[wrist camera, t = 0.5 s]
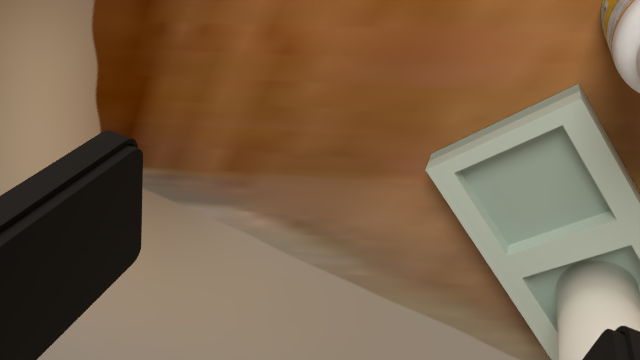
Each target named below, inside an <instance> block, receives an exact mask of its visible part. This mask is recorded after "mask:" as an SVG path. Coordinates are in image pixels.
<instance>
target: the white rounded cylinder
mask: <svg viewBox="0 0 640 360" xmlns="http://www.w3.org/2000/svg"><path fill="white" fill-rule="evenodd" d="M556 294H557V323H558V352H559V360H582V359H583V358H584V357H585V355H586V354H587V353H588V351H589V350H590V349H591V347H592V346H593V345H594V343H595V342H596V341H597V339H598V338H599V337H600V335H601V334H602V333H603V332H604V331H605V330H606V329H612V330H614V331H615V330H616V329H617V328H618V327H620V326H627V327H629V328H632V329H635V330H637V331H640V290H639V286H638V283H637V281H636V279H635V278H634V276H633V275H632V274H631V273H630V272H629V271H627V270H626V269H624V268H623V267H621V266H619V265H617V264H614V263H611V262H606V261H597V260H595V261H585V262H580V263H577V264H575V265H573V266H571V267H569V268H568V269H566V270H565V271H564V272H563V273H562V274H561V275H560V277H559V279H558V281H557V285H556Z"/></svg>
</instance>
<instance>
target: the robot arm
mask: <svg viewBox="0 0 640 360" xmlns="http://www.w3.org/2000/svg"><path fill="white" fill-rule="evenodd" d="M142 175H143V153H142V151H141V150H140V149H138V146H137V143H136V141H135V140H134V139H132V138H129V137H126V136H124V135H121V134H118V133H116V132H113V131H110V130H106V131H104V132H102V133H100V134H99V135H97V136H95V137H94V138H92V139H91V140H89V141H87V142H86V143H84V144H83V145H81V146H79V147H78V148H76V149H75V150H73V151H72V152H70V153H68V154H67V155H65V156H64V157H62V158H60V159H59V160H57V161H56V162H54V163H52V164H51V165H49V166H48V167H46V168H44V169H43V170H41V171H40V172H38V173H37V174H35V175H33V176H32V177H30V178H28V179H27V180H25V181H24V182H22V183H20V184H19V185H17V186H16V187H14V188H12V189H11V190H9V191H8V192H6V193H4V194H3V195H1V196H0V360H37V359H38V357H40V356H41V355H42V353H44V352H45V351H46V350H47V349H48V348H49V347H50V346H51V345H52V344H53V343H54V342H55V341H56V340H57V339H58V338H59V337H60V336H61V335H62V334H63V333H64V332H65V331H66V330H67V329H68V328H69V327H70V326H71V325H72V324H73V323H74V321H76V320H77V319H78V317H80V316H81V315H82V314H83V313H84V312H85V311H86V310H87V309H88V308H89V307H90V306H91V305H92V303H94V302H95V301H96V300H97V299H98V298H99V297H100V296H101V295H102V294H103V293H104V292H105V291H106V290H107V289H108V288H109V287H110V286H111V285H112V284H113V283H114V282H115V281H116V280H117V279H118V277H120V276H121V275H122V274H123V273H124V272H125V271H126V270H127V269H128V268H129V267H130V266H131V265H132V264H133V263H134V261H135V260H136V259H137V257H138V255H139V253H140V249H141V225H142ZM582 360H640V331H637V330H635V329H632V328H629V327H627V326H620V327H618V328H617V329H616V330H615V331H614V330H612V329H606V330H605V331H604V332H603V333H602V334H601V335H600V337H599V338H598V339H597V341H596V342H595V343H594V345H593V346H592V347H591V349H590V350H589V351H588V353H587V354H586V355H585V357H584V358H583V359H582Z"/></svg>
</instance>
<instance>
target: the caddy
mask: <svg viewBox="0 0 640 360" xmlns="http://www.w3.org/2000/svg"><path fill="white" fill-rule="evenodd" d="M426 171H427V173H428V174H429V176H430V177H431V179H432V180H433V182H434V183H435V185H436V186H437V188H438V189H439V191H440V192H441V194H442V196H443V197H444V199H445V200H446V202H447V203H448V205H449V206H450V208H451V209H452V211H453V212H454V214H455V215H456V217H457V218H458V220H459V221H460V223H461V224H462V226H463V227H464V229H465V230H466V232H467V233H468V235H469V236H470V238H471V239H472V241H473V242H474V244H475V245H476V247H477V248H478V250H479V251H480V253H481V254H482V256H483V257H484V259H485V260H486V262H487V263H488V265H489V266H490V268H491V269H492V271H493V272H494V274H495V275H496V277H497V278H498V280H499V281H500V283H501V284H502V286H503V287H504V289H505V290H506V292H507V294H508V295H509V297H510V298H511V300H512V301H513V303H514V304H515V306H516V307H517V309H518V310H519V312H520V313H521V315H522V316H523V318H524V319H525V321H526V322H527V324H528V325H529V327H530V328H531V330H532V331H533V333H534V334H535V336H536V337H537V339H538V340H539V342H540V343H541V345H542V346H543V348H544V349H545V351H546V352H547V354H548V355H549V357H550V358H551V360H559V352H558V323H557V294H556V285H557V281H558V279H559V277H560V275H561V274H562V273H563V272H564V271H565V270H566V269H568V268H569V267H571V266H573V265H575V264H577V263H580V262H585V261H595V260H597V261H606V262H611V263H614V264H617V265H619V266H621V267H623V268H624V269H626V270H627V271H629V272H630V273H631V274H632V275H633V276H634V278H635V279H636V281H637V283H638V286H639V290H640V194H639V192H638V190H637V188H636V186H635V184H634V183H633V181H632V179H631V177H630V175H629V174H628V172H627V170H626V168H625V166H624V165H623V163H622V161H621V159H620V157H619V155H618V154H617V152H616V150H615V148H614V146H613V145H612V143H611V141H610V139H609V137H608V136H607V134H606V132H605V130H604V128H603V127H602V125H601V123H600V121H599V119H598V117H597V116H596V114H595V112H594V110H593V108H592V107H591V105H590V103H589V101H588V99H587V98H586V96H585V94H584V92H583V90H582V89H581V87H580V85H579V84H577V85H575V86H573V87H571V88H568V89H566V90H564V91H562V92H560V93H558V94H556V95H554V96H552V97H550V98H547V99H545V100H543V101H541V102H539V103H537V104H535V105H533V106H531V107H529V108H526V109H524V110H522V111H520V112H518V113H516V114H514V115H512V116H510V117H508V118H505V119H503V120H501V121H499V122H497V123H495V124H493V125H491V126H489V127H487V128H484V129H482V130H480V131H478V132H476V133H474V134H472V135H470V136H468V137H465V138H463V139H461V140H459V141H457V142H455V143H453V144H451V145H449V146H447V147H444V148H442V149H440V150H438V151H436V152H434V153H432V154H431V157H430V159H429V162H428V165H427V168H426Z"/></svg>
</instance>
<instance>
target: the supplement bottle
mask: <svg viewBox="0 0 640 360" xmlns="http://www.w3.org/2000/svg"><path fill="white" fill-rule="evenodd" d="M601 24H602V30H603V33H604V36H605V39H606V42H607V44H608V47H609V50H610V52H611V55H612V58H613V61H614V64H615V67H616V69H617V71H618V72H619V74H620V76H621V77H622V78H623V80H624V81H625V82H626V83H627V84H628V85H629V86H630V87H631V88H632V89H634V90H635V91H636V92H638V93H640V0H604V1H603V4H602V9H601Z"/></svg>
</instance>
